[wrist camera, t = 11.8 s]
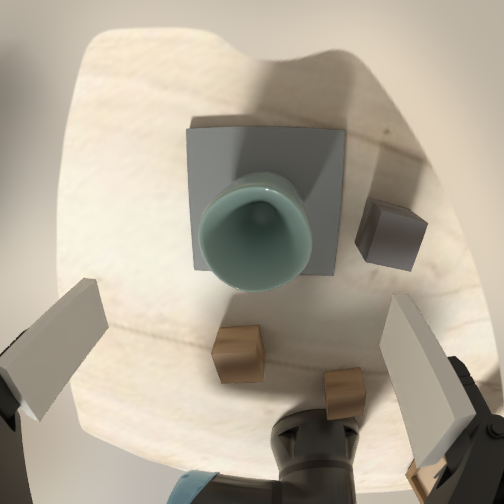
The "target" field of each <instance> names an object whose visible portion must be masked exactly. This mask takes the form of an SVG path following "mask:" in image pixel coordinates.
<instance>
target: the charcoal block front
mask: <svg viewBox="0 0 504 504" xmlns="http://www.w3.org/2000/svg"><path fill="white" fill-rule="evenodd" d="M427 225H428V223H427V222H426V221H424V220H423V219H422V218H420V217H419V216H418V215H416V214H415V213H414V212H412V211H411V210H409V209H407V208H403V207H400V206H396V205H393V204H389V203H386V202H382V201H378V200H375V199H371V198H367V201H366V205H365V208H364V212H363V216H362V219H361V223H360V226H359V230H358V233H357V236H356V240H355V244H356V246H357V247H358V249H359V251H360V253H361V255H362V256H363V258H364V260H365V262H368V263H373V264H378V265H382V266H387V267H392V268H396V269H401V270H406V271H410V272H411V270H412V267H413V264H414V262H415V259H416V257H417V254H418V251H419V248H420V245H421V243H422V240H423V237H424V234H425V231H426V228H427Z"/></svg>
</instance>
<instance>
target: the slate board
mask: <svg viewBox="0 0 504 504" xmlns="http://www.w3.org/2000/svg"><path fill="white" fill-rule="evenodd" d="M344 138H345V130H335V129H321V128H302V127H268V126H244V127H209V128H191V129H186V140H187V168H188V189H189V206H190V221H191V235H192V248H193V260H194V270H201V271H212V270H211V269H210V268H209V266H208V265H207V263H206V261H205V259H204V257H203V255H202V253H201V250H200V246H199V241H198V228H199V222H200V220H201V217H202V215H203V212H204V211H205V209H206V208H207V206H208V205H209V204H210V202H211V201H212V200H213V199H214V198H215V197H216V196H217V195H218V194H219V193H220V192H221V191H222V190H223V189H224V188H225V187H226V186H227V185H229V184H230V183H231V182H233V181H235V180H236V179H238V178H239V177H242V176H244V175H247V174H249V173H254V172H259V171H268V172H273V173H276V174H279V175H281V176H283V177H284V178H286V179H287V180H288V181H289V182H291V183H292V185H293V186H294V187H295V188H296V189H297V191H298V192H299V194H300V196H301V197H302V199H303V201H304V204H305V207H306V209H307V212H308V215H309V219H310V223H311V229H312V235H313V245H312V252H311V256H310V259H309V261H308V263H307V265H306V266H305V268H304V270H303V271H302V272H301V273H300V274H299V275H323V276H334V268H335V259H336V251H337V241H338V231H339V220H340V209H341V196H342V181H343V163H344Z"/></svg>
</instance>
